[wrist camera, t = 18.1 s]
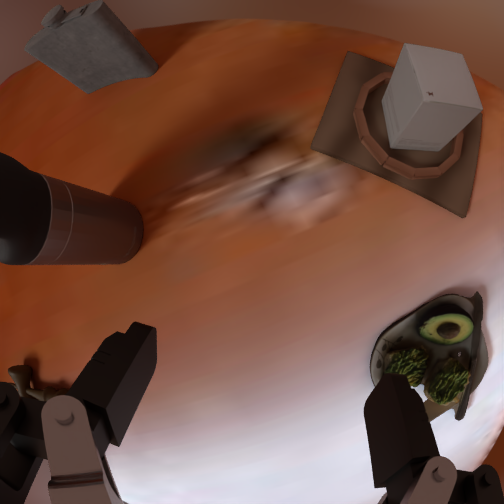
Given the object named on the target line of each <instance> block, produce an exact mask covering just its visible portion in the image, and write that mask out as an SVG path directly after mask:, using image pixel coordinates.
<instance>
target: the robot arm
mask: <svg viewBox="0 0 504 504" xmlns="http://www.w3.org/2000/svg"><path fill="white" fill-rule="evenodd" d="M142 237H143V222H142V219H141V216H140V214H139V211H138V210H137V209H136V207H135V206H134V205H132V204H131V203H129V202H127V201H124V200H121V199H118V198H115V197H112V196H109V195H106V194H103V193H100V192H97V191H94V190H90V189H87V188H84V187H81V186H78V185H75V184H72V183H68V182H65V181H62V180H59V179H55V178H52V177H49V176H46V175H43V174H39V173H37V172H34V171H31V170H29V169H27V168H26V167H25V166H24V165H22V164H21V163H20V162H18V161H17V160H15V159H14V158H12V157H10V156H8V155H5V154H3V153H1V152H0V262H2V263H4V264H8V265H107V264H122V263H125V262H127V261H128V260H130V259H131V258H132V257H133V256H134V255H135V254H136V252H137V251H138V249H139V247H140V245H141V241H142ZM156 363H157V332H156V328H155V327H152V326H148V325H145V324H142V323H139V322H133V323H132V324H131V326H130V327H129V329H128V330H127V332H126V333H125V334H124V333H121V332H118V331H117V332H115V333H114V334H112V335H111V336H109V337H107V338H106V339H105V340H104V341H103V342H102V344H101V345H100V347H99V348H98V349H97V352H95V354H94V355H93V356H92V358H91V360H90V361H89V362H88V363H87V365H86V366H85V368H84V369H83V370H82V372H81V373H80V375H79V376H78V378H77V379H76V381H75V382H74V384H73V385H72V386H71V388H70V389H69V391H68V392H67V393H66V394H65V395H60V396H56V397H53V398H51V399H50V400H48V401H40V400H35V399H31V398H26V397H22V396H20V395H19V393H18V391H17V390H16V388H15V387H14V386H13V385H11V384H9V383H7V382H0V504H24V502H25V499H26V497H27V495H28V493H29V490H30V488H31V486H32V483H33V481H34V479H35V477H36V474H37V472H38V470H39V468H40V466H41V463H42V461H43V459H47V460H48V463H49V467H50V472H51V480H50V481H49V483H48V490H49V496H50V499H51V503H52V504H124V503H123V501H122V499H121V497H120V494H119V492H118V489H117V486H116V484H115V481H114V478H113V476H112V473H111V470H110V467H109V464H108V461H107V458H106V455H105V452H106V450H107V447H108V445H109V443H111V444H113V445H115V446H118V447H119V446H120V444H121V442H122V440H123V438H124V435H125V433H126V431H127V429H128V427H129V425H130V422H131V420H132V418H133V416H134V414H135V412H136V410H137V407H138V405H139V403H140V401H141V399H142V397H143V395H144V393H145V391H146V389H147V386H148V384H149V382H150V380H151V378H152V376H153V374H154V371H155V368H156ZM364 418H365V424H366V430H367V436H368V443H369V449H370V456H371V464H372V471H373V479H374V488H383V487H386V490H387V492H386V493H385V494H384V495H383V496H382V498H381V499H380V501H379V502H378V504H504V496H503V492H502V488H501V484H500V480H499V476H498V474H497V472H496V470H495V469H494V468H493V467H492V466H490V465H481V466H479V467H478V468H477V469H475V470H474V471H473V472H468V471H462V470H456V468H455V466H454V464H453V463H452V462H451V461H450V460H449V459H447V458H445V457H442V456H440V454H439V451H438V447H437V444H436V441H435V437H434V434H433V431H432V427H431V424H430V422H429V418H428V415H427V413H426V409H425V406H424V403H423V400H422V398H421V397H420V396H419V394H418V393H417V392H416V390H415V389H411V386H410V383H409V381H408V378H407V376H406V375H405V374H394V373H385V374H384V375H383V376H382V378H381V379H380V381H379V382H378V384H377V385H376V387H375V388H374V389H373V391H372V392H371V394H370V395H369V397H368V398H367V400H366V402H365V406H364Z"/></svg>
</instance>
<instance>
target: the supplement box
mask: <svg viewBox="0 0 504 504" xmlns="http://www.w3.org/2000/svg"><path fill="white" fill-rule="evenodd" d="M382 106H383V111H384V116H385V121H386V127H387V132H388V138H389V144H390V148H391V149H408V150H424V151H440V150H441V149H442V148H443V147H444V146H445V145H446V144H447V143H449V142H450V141H451V140H452V139H453V138H454V137H455V136H456V135H457V134H458V133H459V132H460V131H461V130H462V129H463V128H465V126H467V125H468V124H469V123H470V122H471V121H472V120H473V119H474V118H475V117H476V116H477V115H478V114H479V113H480V112H481V111H482V110H483V107H482V104H481V101H480V98H479V95H478V93H477V90H476V87H475V84H474V81H473V79H472V76H471V74H470V71H469V69H468V66H467V64H466V62H465V59H464V57H463V55H462V54H460V53H456V52H451V51H447V50H442V49H437V48H432V47H426V46H420V45H415V44H408V43H404V45H403V48H402V50H401V53H400V56H399V58H398V61H397V64H396V66H395V69H394V71H393V74H392V77H391V79H390V82H389V84H388V87H387V89H386V91H385V94H384V96H383V99H382Z"/></svg>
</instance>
